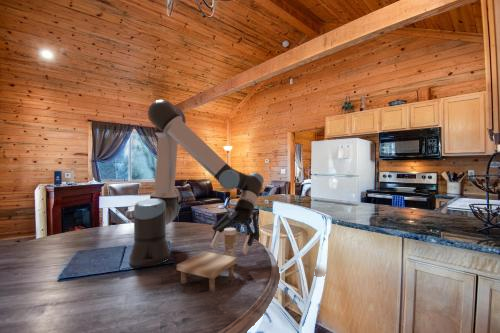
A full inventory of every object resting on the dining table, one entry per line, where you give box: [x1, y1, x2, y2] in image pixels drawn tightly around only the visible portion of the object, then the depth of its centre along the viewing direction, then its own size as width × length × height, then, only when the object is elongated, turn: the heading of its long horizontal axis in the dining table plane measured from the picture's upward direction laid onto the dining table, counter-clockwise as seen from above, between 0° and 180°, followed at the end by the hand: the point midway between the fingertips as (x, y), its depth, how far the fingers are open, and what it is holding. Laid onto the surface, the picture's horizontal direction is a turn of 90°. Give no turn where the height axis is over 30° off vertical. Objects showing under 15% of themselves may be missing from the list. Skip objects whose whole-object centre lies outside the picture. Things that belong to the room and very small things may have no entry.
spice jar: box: [223, 227, 237, 267], centre depth 94 cm, size 5×5×14 cm
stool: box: [176, 250, 238, 293], centre depth 82 cm, size 14×14×6 cm
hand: (227, 250), depth 93 cm, fingers open, 13 cm apart
